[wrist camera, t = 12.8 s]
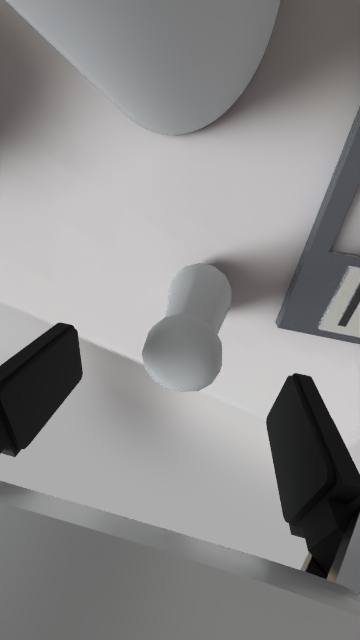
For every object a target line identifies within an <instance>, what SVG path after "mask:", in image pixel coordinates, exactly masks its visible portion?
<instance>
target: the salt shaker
mask: <svg viewBox="0 0 360 640" xmlns="http://www.w3.org/2000/svg"><path fill="white" fill-rule="evenodd" d="M231 303H232V288H231V286H230V284H229V281H228V279H227V277H226V275H225V274H224V273H222V272H221V271H219V270H218V269H217V268H215V267H214V266H211V265H206V264H201V263H198V264H194V265H191V266H187V267H184V268H183V269H182V270H181V271H180V272H179V273H178V274H176V275H175V276H174V277H173V280H172V283H171V285H170V288H169V293H168V301H167V309H166V317H165V318H164V319H162V320H161V321H160V322H158V323H157V324H156V325H155V326H153V327H152V329H151V330H150V331H149V333H148V336H147V339H146V342H145V344H144V348H143V351H142V356H143V362H144V367H145V369H146V370H147V371H148V373H149V374H150V375H151V377H152V378H153V379H154V380H155V381H156V382H158V383H159V384H161V385H162V386H164V387H165V388H167V389H170V390H175V391H179V392H189V391H199V390H201V389H203V388H204V387H206V386H208V385H210V384H212V382H213V381H214V379H215V378H216V376H217V375H218V373H219V372H220V369H221V366H222V344H221V341H220V339H219V337H218V335H217V334H218V332H219V330H220V327H221V325H222V323H223V321H224V319H225V316H226V314H227V312H228V310H229V307H230V305H231Z"/></svg>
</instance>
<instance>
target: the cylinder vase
mask: <svg viewBox="0 0 360 640" xmlns="http://www.w3.org/2000/svg"><path fill="white" fill-rule="evenodd" d="M5 1H6V2H7V3H8V4H9V5H11V6H12V7H13V8H14V9H15V10H16V11H17V12H18V13H19V14H20V15H21V16H22V17H23V18H24V19H25V20H26V21H27V22H28V23H29V24H30V25H32V26H33V27H34V28H35V29H36V30H37V31H38V32H39V33H40V34H41V35H42V36H43V37H44V38H45V39H46V40H47V41H48V42H49V43H50V44H51V45H52V46H54V47H55V48H56V49H57V50H58V51H59V52H60V53H61V54H62V55H63V56H64V57H65V58H66V59H67V60H68V61H69V62H70V63H71V64H72V65H73V66H74V67H76V68H77V69H78V70H79V71H80V72H81V73H82V74H83V75H84V76H85V77H86V78H87V79H88V80H89V81H90V82H91V83H92V84H93V85H94V86H95V87H97V88H98V89H99V90H100V91H101V92H102V93H103V94H104V95H105V96H106V97H107V98H108V99H109V100H110V101H111V102H112V103H113V104H114V105H115V106H116V107H117V108H119V109H120V110H121V111H122V112H123V113H124V114H125V115H126V116H127V117H128V118H129V119H131V120H132V121H133V122H135V123H136V124H138V125H139V126H141V127H143V128H145V129H147V130H150V131H153V132H156V133H160V134H166V135H179V134H186V133H190V132H193V131H196V130H199V129H201V128H203V127H205V126H207V125H208V124H210V123H212V122H213V121H215V120H216V119H217V118H219V117H220V116H221V115H222V114H224V113H225V112H226V111H227V110H228V109H229V108H230V107H231V106H232V105H233V104H234V103H235V101H236V100H237V99H238V98H239V97H240V95H241V94H242V93H243V91H244V90H245V88H246V87H247V85H248V84H249V82H250V81H251V79H252V77H253V76H254V74H255V72H256V70H257V68H258V66H259V64H260V62H261V60H262V58H263V56H264V53H265V51H266V48H267V46H268V43H269V40H270V37H271V34H272V31H273V28H274V24H275V21H276V17H277V13H278V9H279V6H280V2H281V0H5Z"/></svg>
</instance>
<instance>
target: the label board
mask: <svg viewBox="0 0 360 640" xmlns="http://www.w3.org/2000/svg"><path fill="white" fill-rule="evenodd" d="M359 183H360V107H359V110H358V112H357V115H356V118H355V120H354V123H353V125H352V128H351V130H350V133H349V135H348V138H347V141H346V143H345V146H344V148H343V151H342V153H341V156H340V158H339V161H338V164H337V166H336V169H335V171H334V174H333V176H332V179H331V182H330V184H329V187H328V189H327V192H326V194H325V197H324V199H323V202H322V205H321V207H320V210H319V212H318V215H317V217H316V220H315V223H314V225H313V228H312V230H311V233H310V235H309V238H308V240H307V243H306V246H305V248H304V251H303V253H302V256H301V258H300V261H299V264H298V266H297V269H296V271H295V274H294V276H293V279H292V281H291V284H290V287H289V289H288V292H287V294H286V297H285V299H284V302H283V304H282V307H281V310H280V312H279V315H278V317H277V320H276V324H277V326H278V328H282V329H287V330H292V331H297V332H302V333H307V334H312V335H317V336H322V337H327V338H332V339H337V340H342V341H347V342H352V343H357V344H360V256H357V255H351V254H344V253H338V252H332V251H330V248H331V246H332V244H333V242H334V239H335V237H336V235H337V233H338V230H339V228H340V226H341V224H342V221H343V219H344V217H345V215H346V212H347V210H348V208H349V206H350V203H351V201H352V199H353V197H354V194H355V192H356V190H357V188H358V185H359Z"/></svg>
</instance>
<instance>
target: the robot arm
mask: <svg viewBox="0 0 360 640" xmlns="http://www.w3.org/2000/svg"><path fill="white" fill-rule="evenodd" d="M82 374H83V372H82V364H81V356H80V348H79V341H78V333H77V330H76V329H75V328H74V326H73V325H69V324H65V323H57V324H56V325H55V326H53V327H52V328H51V329H49V330H48V331H46V332H45V333H44V334H42V335H41V336H40V337H38V338H37V339H36V340H34V341H33V342H32V343H30V344H29V345H28V346H26V347H25V348H23V349H22V350H21V351H20V352H18V353H17V354H16V355H14V356H13V357H11V358H10V359H9V360H7V361H6V362H5V363H3V364H2V365H1V366H0V453H1V452H2V453H3V454H6V455H10V456H13V457H16V455H17V454H18V453H19V452H20V450H21V449H25V448H26V447H27V446H28V445H29V444H30V443H31V442H32V440H33V439H34V438H35V437H36V435H37V434H38V433H39V432H40V430H41V429H42V428H43V427H44V425H45V424H46V423H47V422H48V420H49V419H50V418H51V417H52V415H53V414H54V412H56V410H57V409H58V408H59V406H60V405H61V404H62V403H63V401H64V400H65V399H66V398H67V396H68V395H69V394H70V393H71V391H72V390H73V389H74V388H75V386H76V385H77V384H78V383H79V381H80V380H81V378H82ZM266 423H267V431H268V436H269V441H270V447H271V452H272V458H273V463H274V468H275V474H276V479H277V485H278V490H279V495H280V501H281V506H282V512H283V516H284V519H285V521H286V522H287V523H289V526H290V530H291V534H292V535H295V536H298V537H302V538H305V540H306V543H307V548H308V551H309V553H308V555H307V557H306V559H305V562H304V564H303V566H302V568H301V570H298V569H295V568H291V567H288V566H285V565H282V564H279V563H276V562H273V561H269V560H267V559H263V558H260V557H257V556H254V555H250V554H248V553H244V552H241V551H237V550H234V549H231V548H227V547H224V546H221V545H217V544H214V543H211V542H207V541H204V540H201V539H197V538H194V537H190V536H187V535H184V534H181V533H177V532H174V531H170V530H167V529H164V528H160V527H157V526H153V525H150V524H147V523H143V522H140V521H137V520H133V519H129V518H126V517H123V516H119V515H116V514H113V513H109V512H106V511H102V510H99V509H96V508H92V507H89V506H85V505H82V504H78V503H75V502H71V501H68V500H65V499H61V498H58V497H54V496H51V495H47V494H44V493H40V492H37V491H33V490H30V489H26V488H23V487H19V486H16V485H13V484H9V483H6V482H2V481H0V640H360V474H359V472H358V470H357V468H356V466H355V464H354V462H353V460H352V458H351V456H350V454H349V452H348V450H347V448H346V446H345V444H344V442H343V439H342V437H341V435H340V433H339V431H338V429H337V427H336V425H335V423H334V421H333V419H332V418H331V416H330V414H329V412H328V410H327V408H326V406H325V404H324V402H323V400H322V398H321V396H320V394H319V391H318V389H317V387H316V385H315V383H314V381H313V379H312V378H311V377H310V376H306V375H302V374H297V373H294V374H293V375H292V376H288V378H287V379H286V381H285V383H284V385H283V387H282V389H281V391H280V393H279V395H278V397H277V399H276V401H275V403H274V405H273V407H272V409H271V410H270V412H269V414H268V416H267V421H266Z"/></svg>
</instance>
